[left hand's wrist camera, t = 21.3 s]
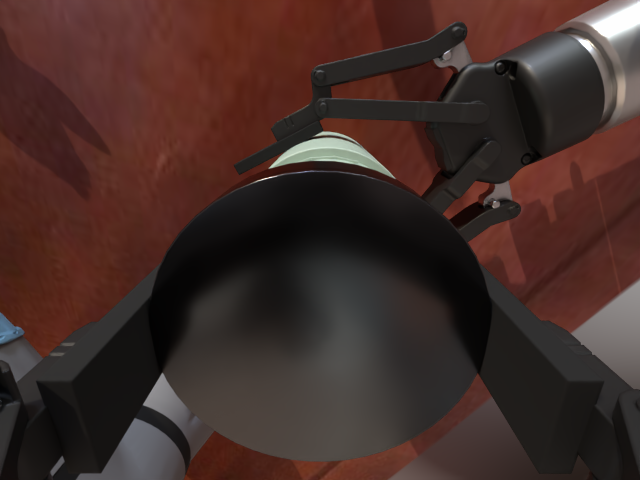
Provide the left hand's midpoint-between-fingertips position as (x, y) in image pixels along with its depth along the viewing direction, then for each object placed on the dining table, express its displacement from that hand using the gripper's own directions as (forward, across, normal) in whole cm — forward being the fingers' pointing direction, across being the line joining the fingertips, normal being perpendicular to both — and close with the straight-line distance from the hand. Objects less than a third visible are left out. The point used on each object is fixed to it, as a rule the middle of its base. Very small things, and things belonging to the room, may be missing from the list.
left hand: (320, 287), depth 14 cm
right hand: (+13, -4, -2) cm, 14 cm away
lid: (-3, 0, 0) cm, 3 cm away
